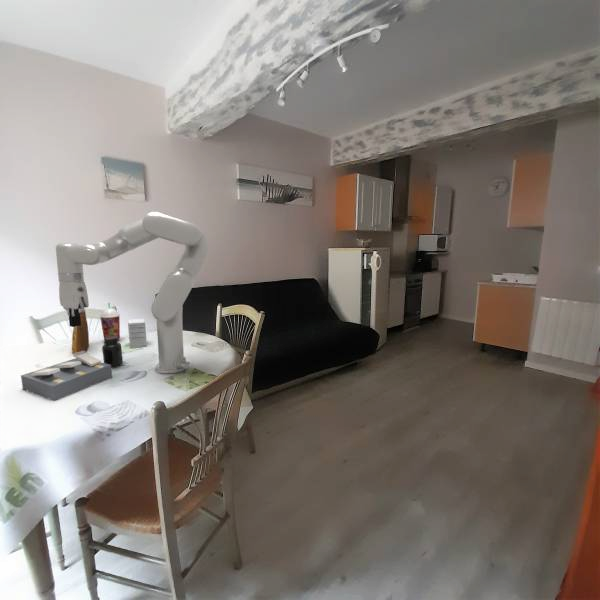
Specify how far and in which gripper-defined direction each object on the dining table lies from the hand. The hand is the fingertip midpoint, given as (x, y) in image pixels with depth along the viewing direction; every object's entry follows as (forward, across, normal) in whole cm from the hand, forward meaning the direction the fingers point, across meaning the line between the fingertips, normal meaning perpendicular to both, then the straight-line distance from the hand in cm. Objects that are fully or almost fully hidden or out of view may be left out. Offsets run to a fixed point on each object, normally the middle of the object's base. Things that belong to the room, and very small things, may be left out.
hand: (75, 325), depth 121 cm
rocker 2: (+12, -5, +7) cm, 15 cm away
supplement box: (+19, +8, -34) cm, 39 cm away
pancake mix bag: (+20, +25, -18) cm, 37 cm away
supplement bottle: (+19, -4, -12) cm, 23 cm away
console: (+19, -5, +6) cm, 21 cm away
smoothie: (+20, +24, -32) cm, 44 cm away
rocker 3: (+12, -5, 0) cm, 13 cm away
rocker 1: (+12, -5, +14) cm, 19 cm away
